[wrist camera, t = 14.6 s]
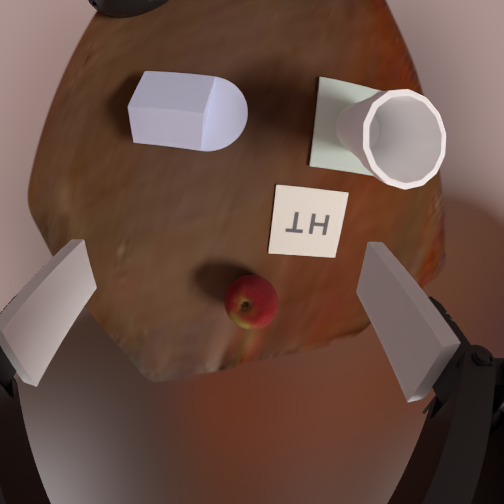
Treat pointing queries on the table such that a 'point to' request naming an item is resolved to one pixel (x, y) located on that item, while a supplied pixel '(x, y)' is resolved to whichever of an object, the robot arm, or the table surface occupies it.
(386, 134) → the foam cup
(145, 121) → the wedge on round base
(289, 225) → the cream card
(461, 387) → the robot arm
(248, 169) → the table surface
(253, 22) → the table surface
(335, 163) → the sage mat
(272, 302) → the apple
